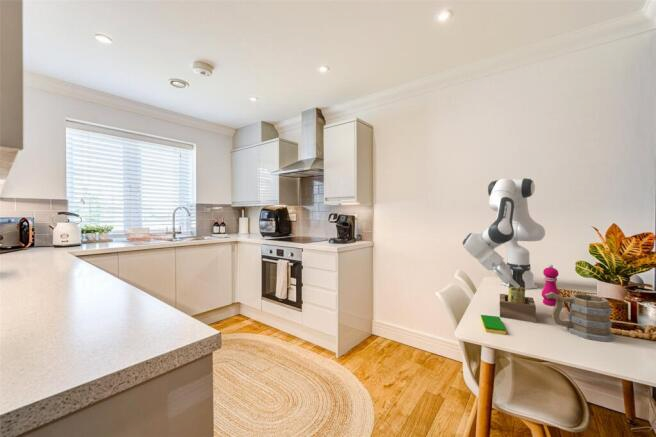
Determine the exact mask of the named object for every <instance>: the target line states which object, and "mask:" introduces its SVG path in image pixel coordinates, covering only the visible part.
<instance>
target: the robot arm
mask: <svg viewBox="0 0 656 437" xmlns="http://www.w3.org/2000/svg"><path fill="white" fill-rule="evenodd" d="M535 190H536V186H535V182H534V180H532V179H531V178H526V177H525V178H504V177H503V178H500V179H497V180H492V181H491V182H489V184H488V186H487V193H488V196H489V198H488V206H489V208H490V209H491V210H493V211H494V212H496V213H497V214H496V219H495V221H494V222H493V223H492V224H491V225H490V226H488V227H487V228H486V229H484V230H482V231H479V232H471V233H468V234H467V235H466V237H465V238H464V239H463V241H462V246H463V248H464V249H465V250H466V252H468V253H469V254H470V255H471V256H472V257H473V258H475V259H476V260H478V263H479V264H481V266H483V268H485V269H486V270H487V271H488V272H490V271H492V272H493V273H494V274H495V275H496V276H497V277H498V278H499V279H500V280H501V281H500V285H502V286H503V285H504V286H506V287H509V283H510V284H512V285H513V286H514V287H515V288H519V287H520V285H519V284H518V283H516V282H515V281H514V280H513V271H512V268H513V267H518V268H523V274H522V277H523V280H524V282H525V290H530V289H538V285H537V284H535V282H534V281H535V280H534V278H535V277H534V276H535V275H534V273H533V272H532V271H531V263H530V251H529V250H528V249H527V248H525V247H523V246H522V245H520V244H519V242H540V241H542V240H543V239H544V237H545V236H546V230H545V228H544V227H543V225H541V224H540V223H538V222H536V221H535V220H534V219H533V218H532V217H531V215H530V212H529V206H528V198H531V197H532V196H533V194H534V192H535ZM513 221H514V222H513ZM502 245H504V247H505V248H506V254H507V262H505V261H504V258H503V257H502V255H501V254H500V253H499V252H497V251H495V249H497V248H498V247H501V246H502Z"/></svg>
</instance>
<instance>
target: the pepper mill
mask: <svg viewBox="0 0 656 437" xmlns="http://www.w3.org/2000/svg"><path fill="white" fill-rule="evenodd" d="M542 274H543V276H544V280H545V281H544V282H545V284H544V287H543V289H542V291H541V297H542V303H543V304H544V305H546V306H548V307H549V306H550V307H555V304H556V299H555V298H553V297H552V298H549V299H548V298H547V297H546V296H545V294H548V293H550V292H553V293H555V294H557V295H559V296H561V295H560V292H559V289H558V287H557V281H558V278H557V277H558V276H559V271H558V269H556V268H554V265H552V264H549V265H548V267H545V268H544V269H543V271H542Z"/></svg>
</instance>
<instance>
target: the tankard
mask: <svg viewBox="0 0 656 437" xmlns="http://www.w3.org/2000/svg"><path fill="white" fill-rule="evenodd" d="M545 296H546V297H547V298H548V299H549V298H552V297H553V298H555V299H556V304H555V306H553V309H552V310H551V317H552V320H553V321H554V322H555V324H556V325H558V326H561V327H565V328H566V330H567V331H568V332H569V333H570V334H572V335H573V336H576V337H580V338H583V339H586V340H590V341H591V340H592V341H597V342H607V341H612V340H615V334H614V333H612V331H610V329H611V328H612V326H613V325H612V320H611V319H610V315H612V314H613V312H612V310H613V309H612V307H611V306H610V301H609V300H608V299H607V298H605V297H603V296H598V295H595V294H587V293H573V294H570V295H569V297H566V296H565V297H564V296H562V295H560V296H559V295H557V294H555V293H553V292H550V293H548V294H545ZM564 303H567V306H568V307H569V311H568V312H567V318H568V320H563V319H560V313H561V311H562V309H563V306H564Z"/></svg>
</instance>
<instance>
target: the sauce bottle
mask: <svg viewBox="0 0 656 437" xmlns="http://www.w3.org/2000/svg"><path fill="white" fill-rule="evenodd" d="M512 271H513V280H514V281H515V282H516V283H518V284H519V285H520V287H519V288H515V287H514V286H513V285H512V284H510V283H509V286H508V294H507V295H508V302H516V303H523V304H525V297H526V289H525V282H524V280H523V277H522V274H523V268H518V267H513V268H512Z"/></svg>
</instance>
